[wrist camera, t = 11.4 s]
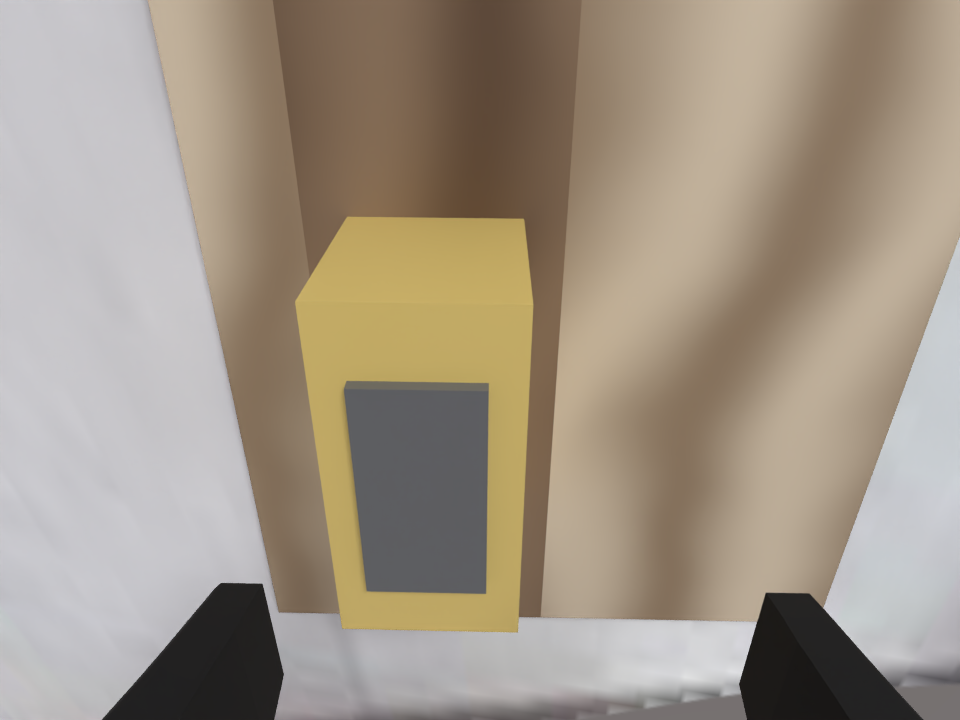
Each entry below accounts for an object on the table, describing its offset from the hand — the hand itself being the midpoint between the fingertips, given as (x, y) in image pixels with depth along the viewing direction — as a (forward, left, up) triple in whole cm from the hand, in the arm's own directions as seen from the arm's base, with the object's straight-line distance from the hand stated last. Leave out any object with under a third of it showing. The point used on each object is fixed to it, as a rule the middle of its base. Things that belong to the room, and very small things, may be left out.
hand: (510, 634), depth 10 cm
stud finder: (0, +2, -10) cm, 10 cm away
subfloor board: (-2, 0, -10) cm, 11 cm away
